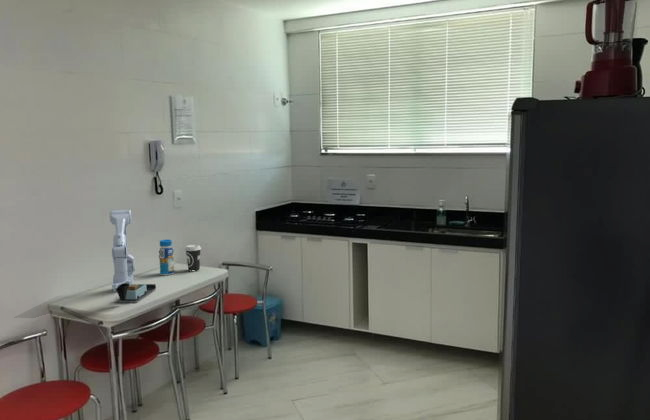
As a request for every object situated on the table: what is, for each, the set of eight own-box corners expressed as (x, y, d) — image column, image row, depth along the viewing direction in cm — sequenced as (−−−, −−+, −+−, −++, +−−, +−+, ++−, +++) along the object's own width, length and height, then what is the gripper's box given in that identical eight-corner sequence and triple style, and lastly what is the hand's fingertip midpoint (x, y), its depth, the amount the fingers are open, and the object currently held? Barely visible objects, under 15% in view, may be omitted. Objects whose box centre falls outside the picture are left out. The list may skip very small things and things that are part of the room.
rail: (116, 302, 248) (116, 296, 248) (137, 289, 271) (137, 284, 270) (136, 303, 248) (136, 296, 247) (155, 289, 270) (155, 284, 269)
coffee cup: (198, 272, 305) (197, 247, 303) (183, 272, 307) (181, 247, 305) (204, 268, 315) (203, 244, 313) (190, 268, 316) (188, 244, 314)
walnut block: (127, 295, 253) (126, 286, 253) (131, 293, 257) (130, 284, 257) (135, 295, 253) (134, 286, 252) (138, 293, 257) (138, 284, 256)
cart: (118, 299, 250) (117, 291, 249) (129, 292, 262) (129, 284, 261) (137, 299, 249) (136, 291, 248) (148, 292, 261) (147, 284, 260)
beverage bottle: (158, 273, 305) (156, 240, 302) (173, 271, 309) (171, 238, 306) (161, 276, 297) (159, 242, 295) (176, 274, 301) (174, 240, 299)
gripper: (121, 275, 235) (123, 304, 237) (136, 267, 249) (137, 294, 251) (106, 275, 235) (108, 303, 237) (122, 267, 250) (123, 294, 252)
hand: (122, 299), depth 244 cm, fingers closed
